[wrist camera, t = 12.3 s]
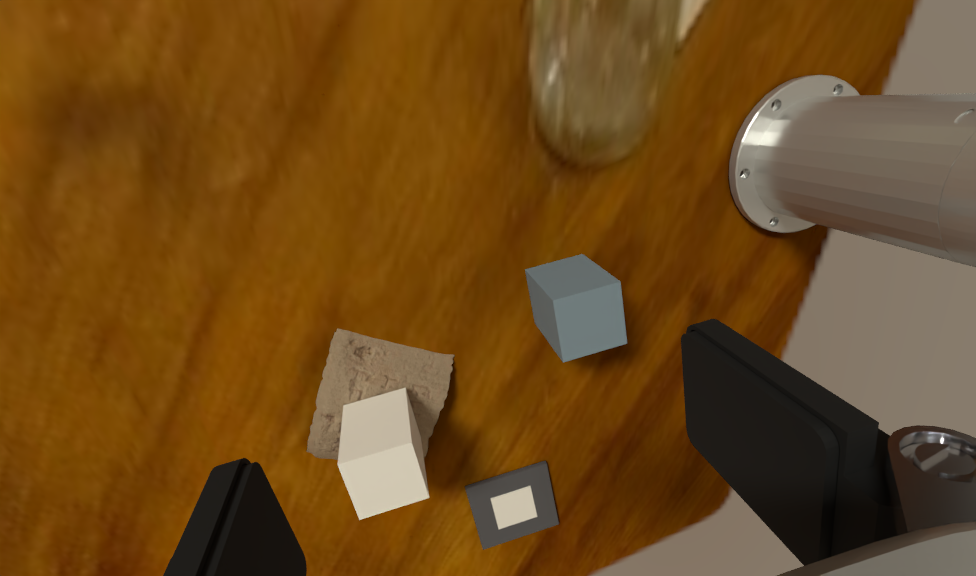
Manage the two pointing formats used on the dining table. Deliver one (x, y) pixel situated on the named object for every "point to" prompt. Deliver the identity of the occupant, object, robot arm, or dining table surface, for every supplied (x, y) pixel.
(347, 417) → the cream block
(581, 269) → the slate-blue block
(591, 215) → the dining table surface
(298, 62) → the dining table surface
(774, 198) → the robot arm
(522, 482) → the card
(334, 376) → the clay tablet
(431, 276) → the dining table surface
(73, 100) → the dining table surface
